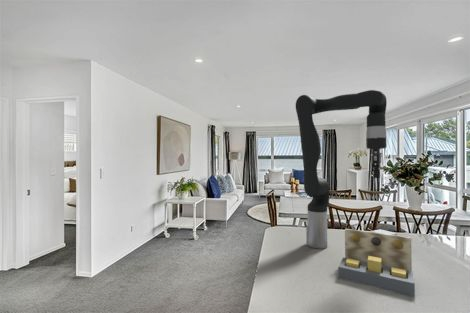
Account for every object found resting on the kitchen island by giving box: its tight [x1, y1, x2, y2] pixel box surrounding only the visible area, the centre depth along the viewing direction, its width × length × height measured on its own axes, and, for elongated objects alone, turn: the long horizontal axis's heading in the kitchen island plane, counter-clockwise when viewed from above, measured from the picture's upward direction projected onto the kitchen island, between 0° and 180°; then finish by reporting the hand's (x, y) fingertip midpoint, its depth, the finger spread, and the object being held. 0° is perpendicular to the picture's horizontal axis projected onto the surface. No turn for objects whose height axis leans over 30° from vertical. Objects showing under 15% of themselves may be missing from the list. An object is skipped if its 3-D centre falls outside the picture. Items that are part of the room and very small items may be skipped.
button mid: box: [368, 256, 382, 273], centre depth 86 cm, size 4×4×5 cm
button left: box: [346, 259, 359, 268], centre depth 89 cm, size 4×4×5 cm
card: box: [344, 228, 413, 271], centre depth 95 cm, size 22×4×14 cm, turn 57°
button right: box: [392, 267, 406, 278], centre depth 82 cm, size 4×4×5 cm
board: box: [337, 257, 416, 297], centre depth 86 cm, size 22×10×4 cm, turn 57°
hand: (376, 177), depth 105 cm, fingers closed
